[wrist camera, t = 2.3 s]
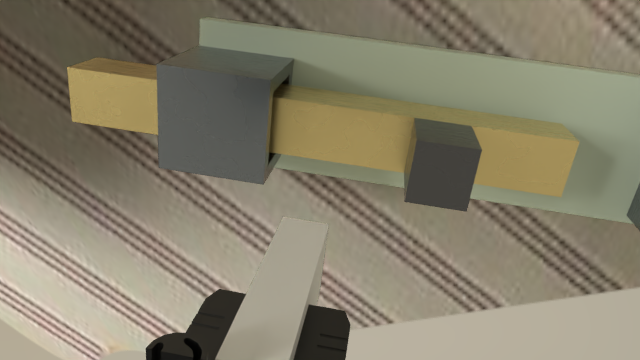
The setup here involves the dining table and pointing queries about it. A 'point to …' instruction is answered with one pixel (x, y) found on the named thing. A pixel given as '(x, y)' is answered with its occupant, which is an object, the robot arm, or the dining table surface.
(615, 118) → the base plank
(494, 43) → the dining table surface
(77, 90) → the sliding bolt
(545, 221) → the dining table surface
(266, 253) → the robot arm
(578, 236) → the dining table surface
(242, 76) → the guide sleeve
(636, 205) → the socket block
